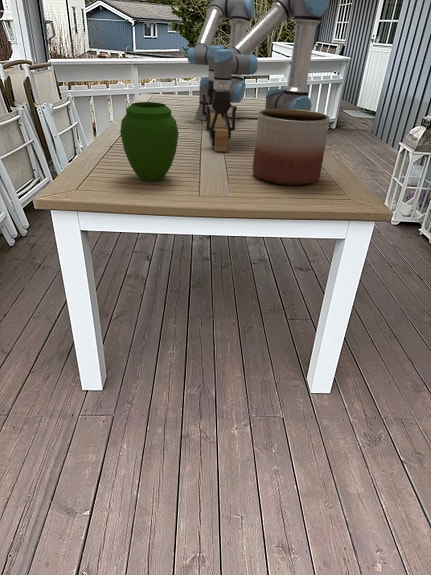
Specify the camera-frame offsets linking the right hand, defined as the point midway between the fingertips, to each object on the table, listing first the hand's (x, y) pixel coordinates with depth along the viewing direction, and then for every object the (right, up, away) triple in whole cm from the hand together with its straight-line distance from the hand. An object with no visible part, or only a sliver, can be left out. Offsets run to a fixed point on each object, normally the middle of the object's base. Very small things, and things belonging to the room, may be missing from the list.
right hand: (220, 145), depth 188 cm
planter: (+24, -23, -33) cm, 47 cm away
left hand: (-3, +21, +32) cm, 38 cm away
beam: (-2, +10, +17) cm, 19 cm away
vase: (-25, -26, -42) cm, 55 cm away
